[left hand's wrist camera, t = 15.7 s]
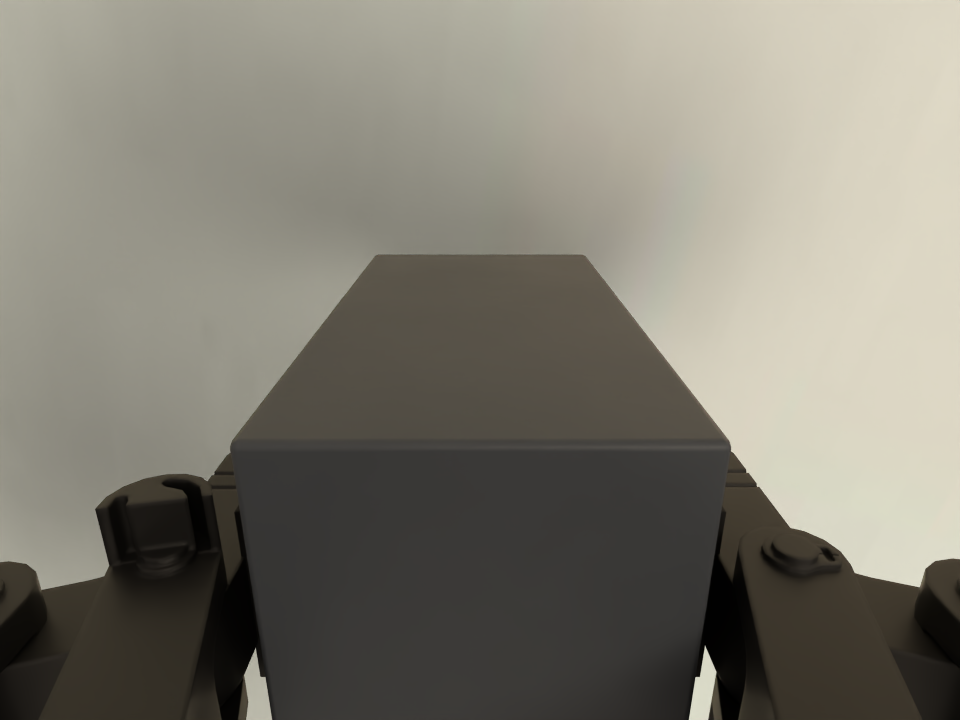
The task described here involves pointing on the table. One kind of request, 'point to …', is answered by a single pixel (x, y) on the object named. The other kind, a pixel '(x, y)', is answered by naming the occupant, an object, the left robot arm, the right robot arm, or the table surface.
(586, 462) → the bar
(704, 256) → the table surface
